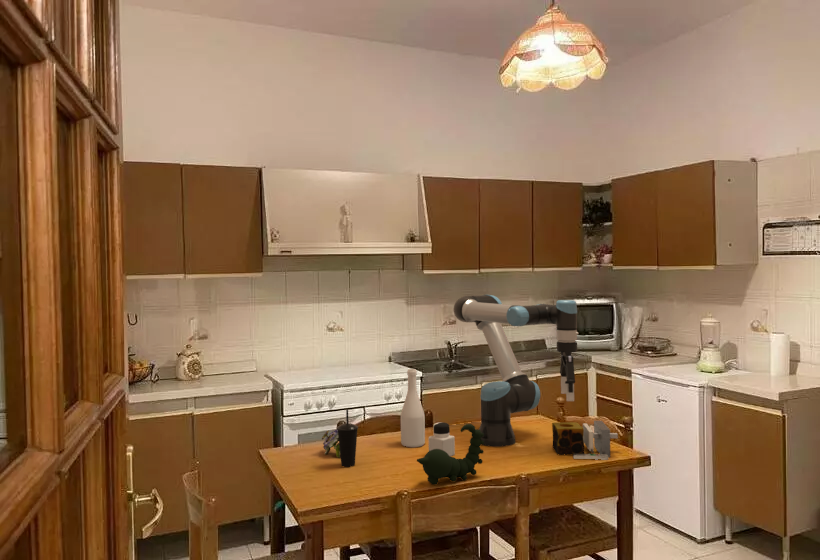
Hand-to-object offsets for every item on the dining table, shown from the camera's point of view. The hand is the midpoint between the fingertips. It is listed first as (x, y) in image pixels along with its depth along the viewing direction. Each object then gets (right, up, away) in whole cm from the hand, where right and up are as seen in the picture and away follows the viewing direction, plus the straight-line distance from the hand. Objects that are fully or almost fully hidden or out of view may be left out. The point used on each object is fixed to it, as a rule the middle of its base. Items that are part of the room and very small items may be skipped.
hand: (567, 397), depth 239 cm
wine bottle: (-58, -21, +13) cm, 63 cm away
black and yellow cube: (0, -21, 0) cm, 21 cm away
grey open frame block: (+7, -20, -2) cm, 22 cm away
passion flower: (-87, -22, +2) cm, 90 cm away
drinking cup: (-82, -22, -12) cm, 85 cm away
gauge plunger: (+13, -18, -2) cm, 22 cm away
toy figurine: (-46, -22, -31) cm, 60 cm away
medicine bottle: (-48, -22, -2) cm, 52 cm away
